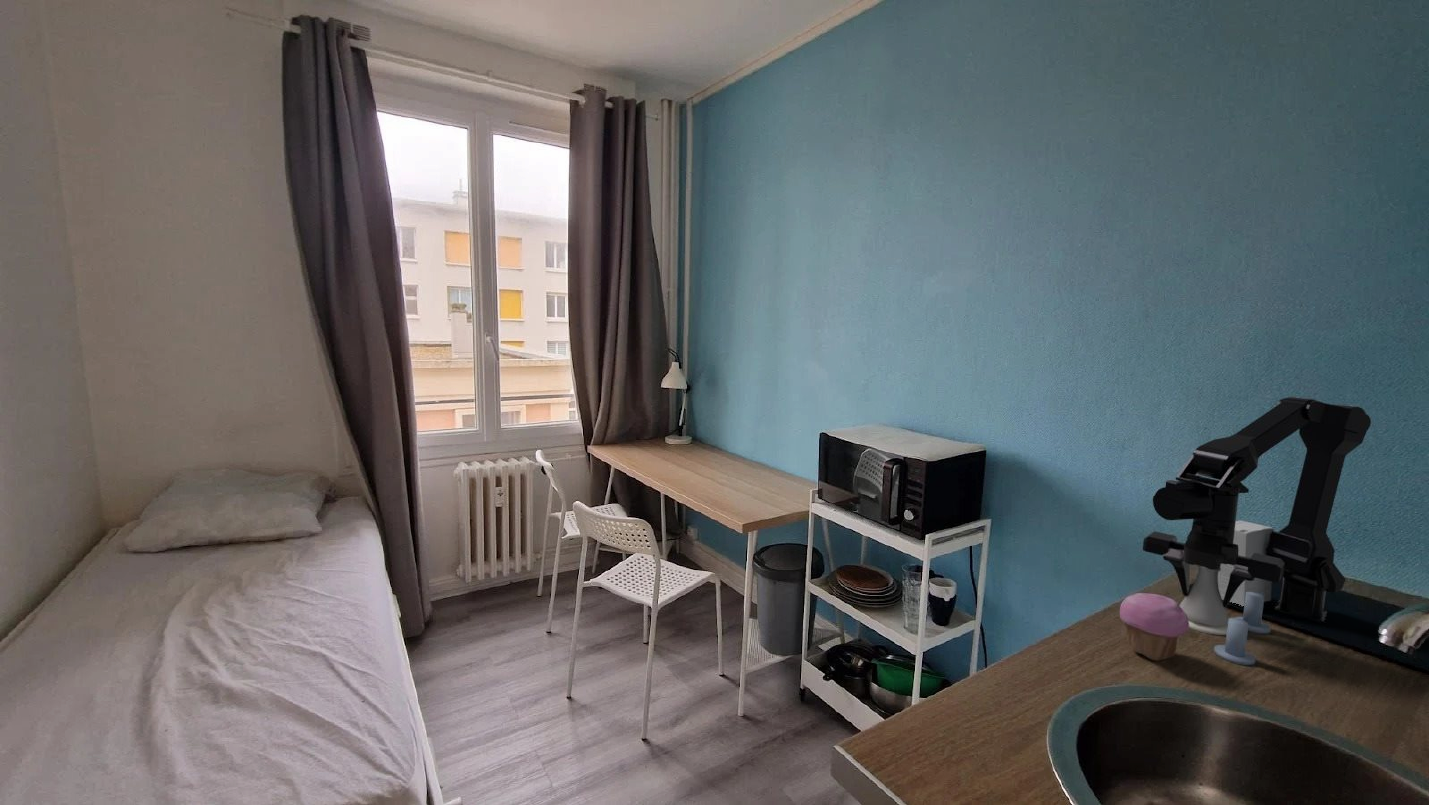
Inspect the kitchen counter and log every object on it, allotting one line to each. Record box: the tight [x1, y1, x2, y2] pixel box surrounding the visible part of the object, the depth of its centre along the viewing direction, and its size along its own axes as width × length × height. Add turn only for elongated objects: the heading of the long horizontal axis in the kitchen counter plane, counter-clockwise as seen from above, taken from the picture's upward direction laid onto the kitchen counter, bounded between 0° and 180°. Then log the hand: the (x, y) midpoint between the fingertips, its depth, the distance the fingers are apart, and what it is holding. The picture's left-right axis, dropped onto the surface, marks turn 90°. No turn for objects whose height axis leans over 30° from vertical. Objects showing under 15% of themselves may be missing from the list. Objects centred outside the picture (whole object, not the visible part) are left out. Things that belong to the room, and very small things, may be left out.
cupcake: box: [1119, 592, 1190, 662], centre depth 94 cm, size 9×9×10 cm
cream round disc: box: [1188, 619, 1228, 636], centre depth 106 cm, size 9×9×1 cm
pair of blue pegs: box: [1213, 592, 1272, 666], centre depth 99 cm, size 20×5×6 cm, turn 130°
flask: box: [1178, 565, 1229, 626], centre depth 105 cm, size 7×7×10 cm
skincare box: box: [1218, 520, 1275, 607], centre depth 114 cm, size 8×6×15 cm
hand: (1205, 600), depth 105 cm, fingers closed on flask, 5 cm apart
